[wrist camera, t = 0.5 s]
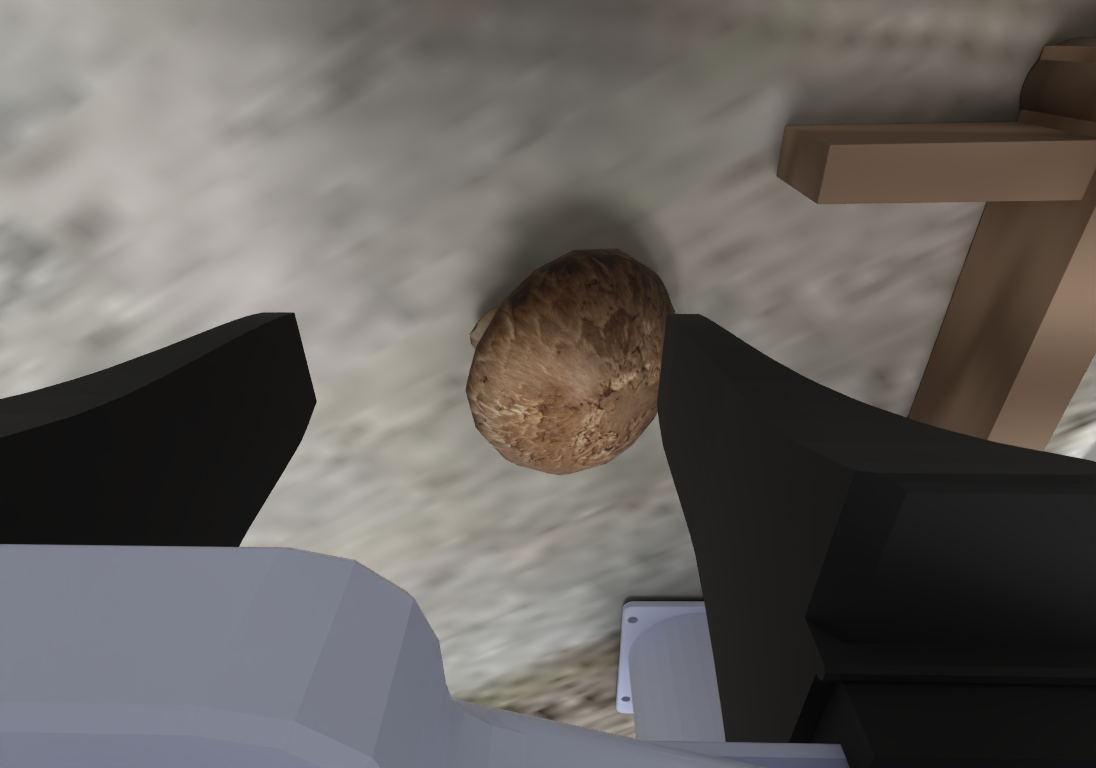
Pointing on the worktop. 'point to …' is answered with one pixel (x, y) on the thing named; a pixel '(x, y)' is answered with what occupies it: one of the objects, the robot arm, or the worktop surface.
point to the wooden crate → (991, 242)
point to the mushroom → (570, 362)
